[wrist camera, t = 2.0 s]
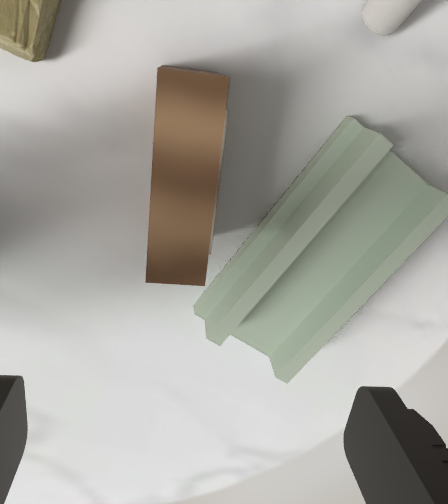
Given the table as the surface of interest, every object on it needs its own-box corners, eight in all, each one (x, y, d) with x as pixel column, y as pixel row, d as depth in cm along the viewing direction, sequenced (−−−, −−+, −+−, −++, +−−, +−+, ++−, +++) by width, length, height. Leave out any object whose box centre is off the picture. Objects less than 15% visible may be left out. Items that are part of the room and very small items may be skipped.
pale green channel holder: (285, 359, 45) (296, 388, 41) (193, 305, 42) (195, 332, 37) (438, 196, 39) (468, 212, 35) (347, 115, 36) (369, 123, 31)
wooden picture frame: (201, 238, 39) (208, 286, 31) (152, 234, 38) (145, 282, 30) (220, 73, 33) (234, 78, 25) (162, 65, 33) (157, 67, 25)
